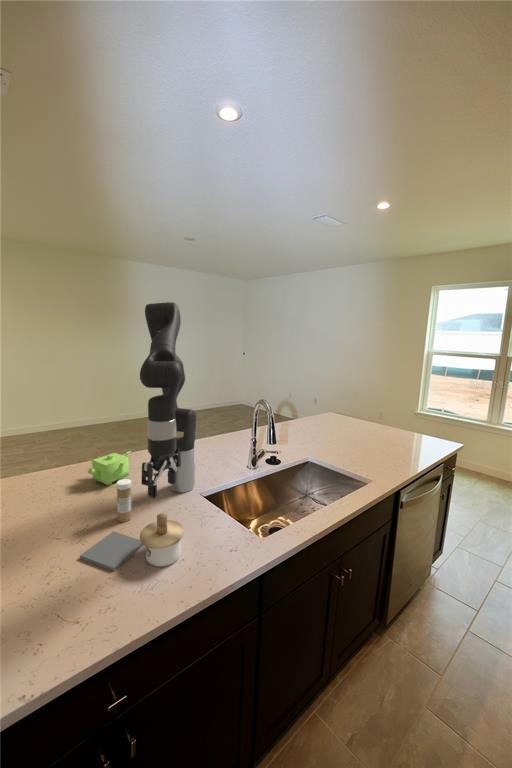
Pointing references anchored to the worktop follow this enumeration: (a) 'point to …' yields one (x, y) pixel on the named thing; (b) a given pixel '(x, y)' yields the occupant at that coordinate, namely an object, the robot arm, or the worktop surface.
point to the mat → (112, 551)
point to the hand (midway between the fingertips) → (162, 490)
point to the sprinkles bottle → (124, 500)
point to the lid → (161, 533)
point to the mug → (163, 555)
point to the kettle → (110, 468)
